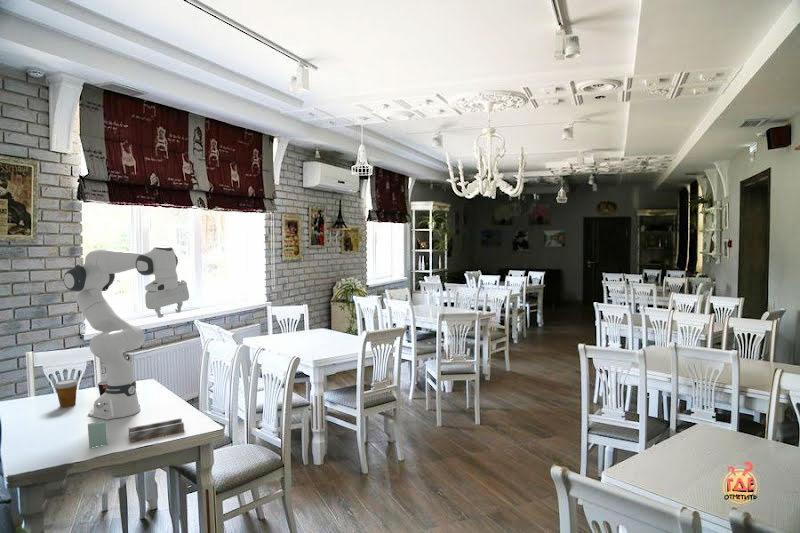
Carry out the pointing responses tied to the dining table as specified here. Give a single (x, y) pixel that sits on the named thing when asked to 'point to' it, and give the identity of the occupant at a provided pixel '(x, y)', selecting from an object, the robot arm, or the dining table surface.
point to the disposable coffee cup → (66, 392)
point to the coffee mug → (101, 388)
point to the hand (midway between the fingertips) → (169, 314)
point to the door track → (156, 430)
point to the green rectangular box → (97, 434)
